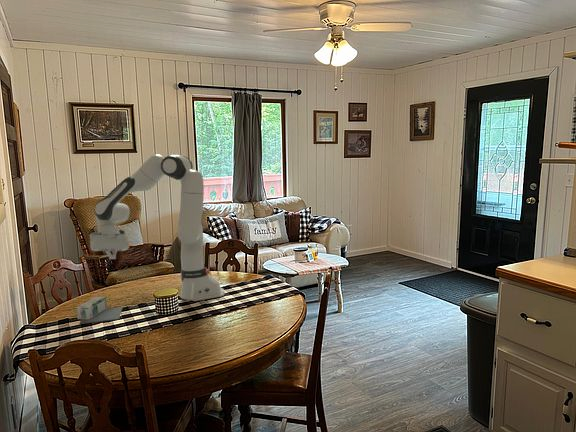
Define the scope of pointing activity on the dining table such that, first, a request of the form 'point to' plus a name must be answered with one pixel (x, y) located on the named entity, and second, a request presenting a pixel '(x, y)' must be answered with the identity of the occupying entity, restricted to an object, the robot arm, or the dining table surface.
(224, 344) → the dining table surface
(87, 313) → the syrup box
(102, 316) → the mat
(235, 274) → the dining table surface
